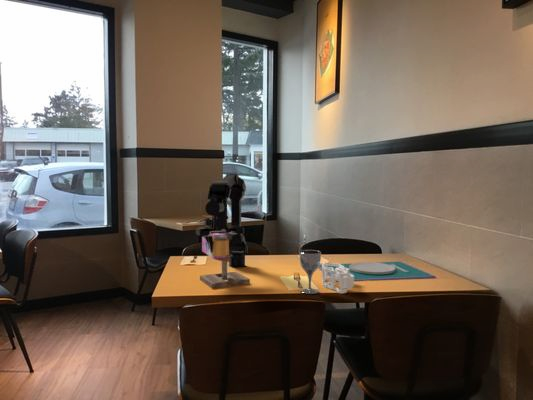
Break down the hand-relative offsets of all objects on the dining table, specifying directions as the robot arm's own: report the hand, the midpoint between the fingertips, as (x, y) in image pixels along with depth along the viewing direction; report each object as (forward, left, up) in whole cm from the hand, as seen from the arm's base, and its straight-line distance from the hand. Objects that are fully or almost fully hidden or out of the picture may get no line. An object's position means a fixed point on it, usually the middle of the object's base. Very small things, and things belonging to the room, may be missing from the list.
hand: (220, 251), depth 181 cm
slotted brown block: (-1, +2, -12) cm, 12 cm away
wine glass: (-25, +28, -12) cm, 39 cm away
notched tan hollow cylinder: (0, 0, -1) cm, 1 cm away
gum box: (-17, -52, -13) cm, 56 cm away
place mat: (-69, +10, -13) cm, 71 cm away
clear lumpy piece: (-39, +26, -13) cm, 49 cm away
